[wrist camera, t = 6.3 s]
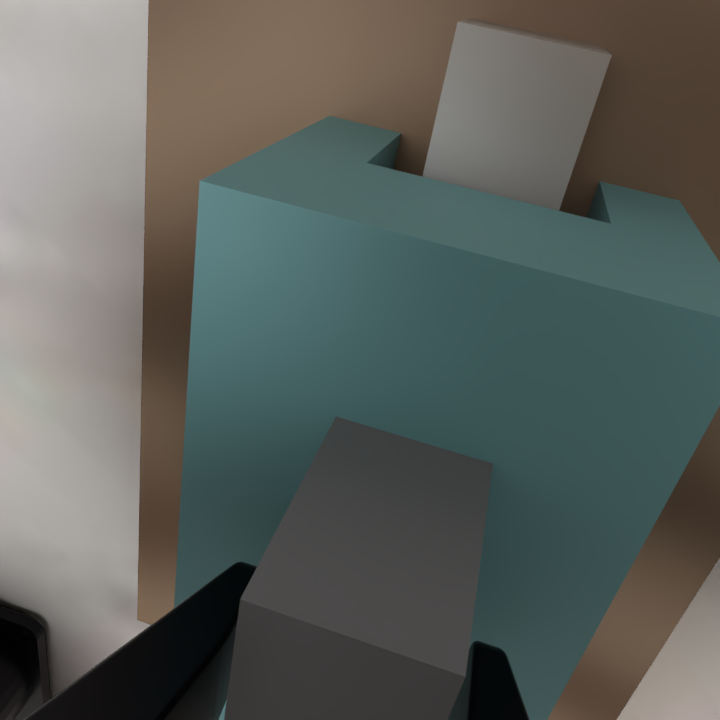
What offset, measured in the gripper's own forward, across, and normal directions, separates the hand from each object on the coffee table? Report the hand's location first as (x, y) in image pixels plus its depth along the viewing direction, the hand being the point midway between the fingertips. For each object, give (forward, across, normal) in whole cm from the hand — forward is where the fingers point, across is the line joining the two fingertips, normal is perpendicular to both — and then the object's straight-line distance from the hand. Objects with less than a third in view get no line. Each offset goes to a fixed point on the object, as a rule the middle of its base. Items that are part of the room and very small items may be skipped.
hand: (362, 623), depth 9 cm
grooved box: (+6, 0, 0) cm, 6 cm away
